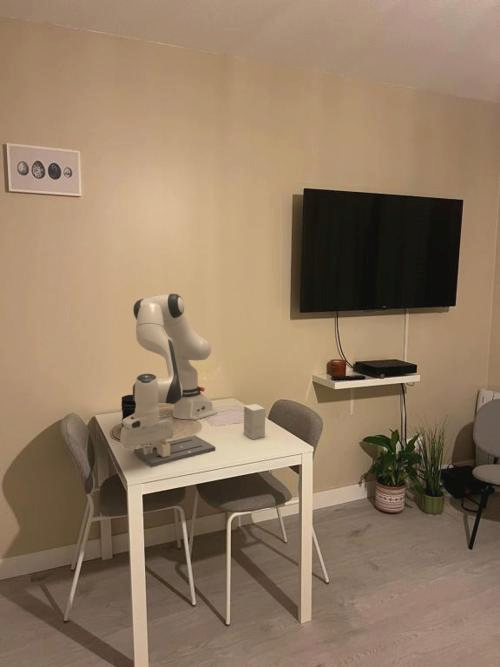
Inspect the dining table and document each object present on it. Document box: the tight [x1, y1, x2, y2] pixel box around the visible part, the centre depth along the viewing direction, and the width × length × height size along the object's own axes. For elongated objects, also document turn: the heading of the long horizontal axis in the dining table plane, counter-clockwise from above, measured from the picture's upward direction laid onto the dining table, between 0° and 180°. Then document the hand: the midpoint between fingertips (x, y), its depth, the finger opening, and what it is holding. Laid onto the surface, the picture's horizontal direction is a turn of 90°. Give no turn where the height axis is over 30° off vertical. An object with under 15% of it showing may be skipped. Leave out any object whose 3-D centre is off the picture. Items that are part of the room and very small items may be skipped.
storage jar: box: [121, 394, 136, 428], centre depth 223 cm, size 10×10×15 cm
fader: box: [157, 440, 170, 457], centre depth 191 cm, size 3×5×5 cm, turn 37°
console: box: [133, 435, 216, 468], centre depth 199 cm, size 28×16×2 cm, turn 127°
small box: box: [243, 403, 266, 440], centre depth 217 cm, size 8×6×13 cm
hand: (147, 453), depth 187 cm, fingers closed
